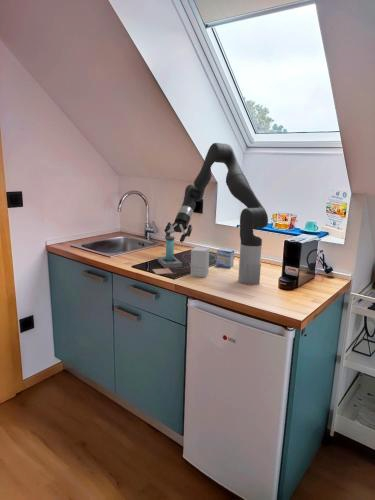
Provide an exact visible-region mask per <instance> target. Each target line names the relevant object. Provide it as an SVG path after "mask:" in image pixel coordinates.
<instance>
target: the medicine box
mask: <svg viewBox="0 0 375 500" xmlns="http://www.w3.org/2000/svg"><path fill="white" fill-rule="evenodd" d="M234 258H235V250H232V249H226V248H225V249H224V248H219V249H217V250H216V260H215V261H216V262H215V263H216V265H215V266H216V267H219V268H226V269H231V268H233V267H234Z"/></svg>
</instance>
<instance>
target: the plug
mask: <svg viewBox="0 0 375 500" xmlns="http://www.w3.org/2000/svg"><path fill="white" fill-rule="evenodd" d="M175 238H176V237H175V236H171V235H170V236H167V237H165V236H164V239H165V257H166V262H173V260H174V257H175V256H174V255H175V254H174V253H175V252H174V251H175V250H174V249H175V247H174V246H175Z"/></svg>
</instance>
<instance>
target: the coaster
mask: <svg viewBox="0 0 375 500" xmlns="http://www.w3.org/2000/svg"><path fill="white" fill-rule="evenodd" d="M152 271H153V272H154V273H155V274H156V275H164V274H166V275H167V274H173V271H172V270H171V269H170V268H154V269H152Z"/></svg>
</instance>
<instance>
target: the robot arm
mask: <svg viewBox="0 0 375 500" xmlns="http://www.w3.org/2000/svg"><path fill="white" fill-rule="evenodd" d="M214 163H221V164H224V165H225V166H226V168H227V173H226V176H225V177H226V178H225V183H226V184H225V185H226V186H227V188H228V191H229V192H230V194H231V195H232V196H233V197H234V198H235V199H236V200H238V201H239V202H241V203H242V204H243V205H245V208H243V209H242V211H241V212H240V216H239V217H240V218H239V239H240V244H239V245H240V247H239V248H240V249H239V264H238V277H237V278H238V279H237V281H238V282H239V283H241V284H245V285H247V286H250V285H260V280H261V267H262V266H261V265H262V263H261V259H262V245H263V244H262V243H263V239H262V238H261V237H260V236H256V235H255V233H254V230H260V229H264V228H267V226H268V223H269V215H268V213H267V211H266V209H265V208H264V206H263V204H262V203H261V202H260V200H259V199H258V198H257V196H256V195H255V192H254V191H253V189H252V187H251V185H250V183H249V181H248V179H247V178H246V175H245V174H244V171H243V170H242V168H241V166H240V164H239V162H238V160H237V157H236V155H235V151H234V149H233V147H232V146H231V145H230V144H228V143H219V142H213V143H212V144H211V145H210V146H209V147H208V151H207V153H206V156H205V158H204V161H203V163H202V166H201V169H200V171H199V172H198V175H196V177H195V179H194V181H193V184H188V185H187V186H186V187H185V190H184V197H183V198H184V199H183V202H182V204H181V206H180V208H179V210H178V212H177V214H176V217H175V219H174V222H173V223H171V222H170V221H169V222H167V225H166V226H165V228H164V230H163V231H164V232H165V236H164V238H165V237H167V236H171V235H172V234H174V233H179V234H180V233H182V234H181V235H180V239H179V242H180V243H183V242H185V240H186V238H187V237H190V236H191V234H192V231H193V226H192V224H190V222H191V219H192V217H193V214H194V210H196V209H195V208H196V205H197V203H196V202H200V201H202V200H203V198H204V194H205V189H206V188H207V185H208V184H209V183H210V181H211V179H212V174H213V173H212V166H213V164H214Z"/></svg>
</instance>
